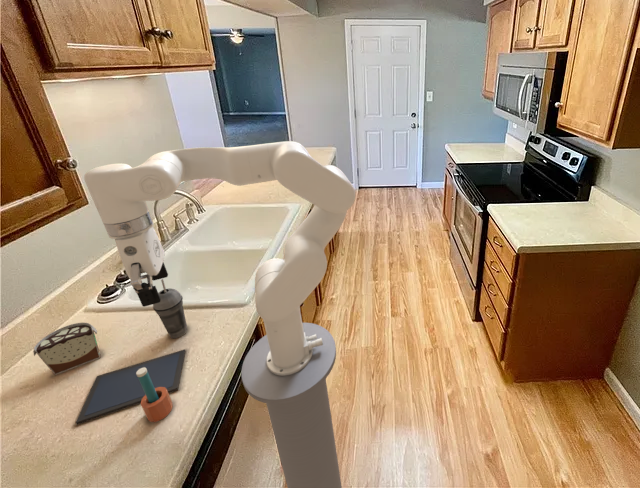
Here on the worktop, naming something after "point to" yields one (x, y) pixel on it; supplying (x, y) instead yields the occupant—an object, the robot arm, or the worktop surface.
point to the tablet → (130, 385)
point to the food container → (68, 347)
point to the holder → (157, 405)
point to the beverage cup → (171, 312)
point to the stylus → (147, 385)
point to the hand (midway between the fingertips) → (156, 290)
